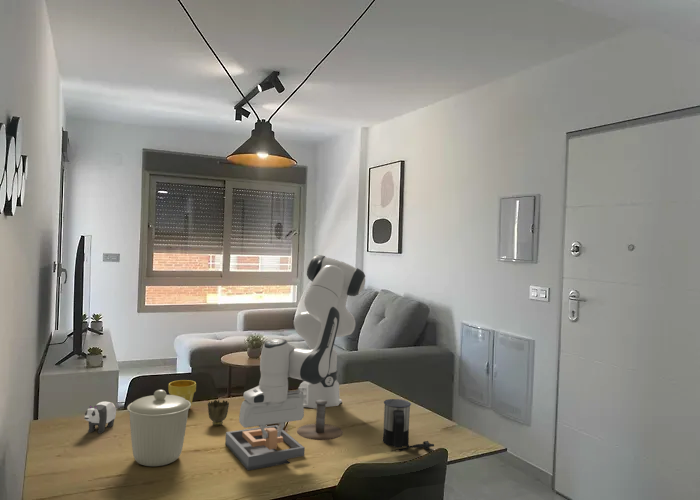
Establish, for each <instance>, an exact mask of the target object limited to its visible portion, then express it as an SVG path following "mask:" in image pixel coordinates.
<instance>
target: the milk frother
mask: <svg viewBox="0 0 700 500" xmlns="http://www.w3.org/2000/svg"><path fill="white" fill-rule="evenodd" d="M383 404H384V409H383V430H382V431H383V435H382V443H384V445H387V446H390V447H393V448H397V449H393V451H397V452H398V451H400V452H401V451H406V450H408V449H416V448H419V449H420V448H423V449H424V450H425V451H426V450H429V449H430V448H432V447H435V444H434V443H430V442H429V441H428V440H427V441H425V440H424V441H423V442H422V443H418V444H412V445H410V444H409V443H410V442H409V441H410V440H409V437H410V435H409V433H410V417H411V416H410V410H411V405H412V403H411V402H410V401H408V400H405V399H398V398H389V399H385V400H383Z"/></svg>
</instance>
